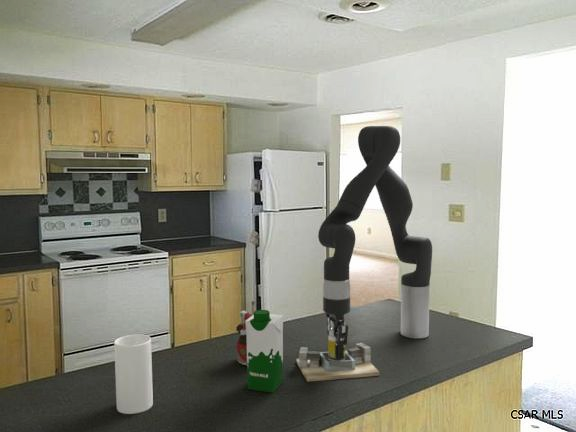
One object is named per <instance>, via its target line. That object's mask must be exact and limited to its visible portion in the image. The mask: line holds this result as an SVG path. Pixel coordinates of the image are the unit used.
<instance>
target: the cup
mask: <svg viewBox="0 0 576 432" xmlns="http://www.w3.org/2000/svg"><path fill="white" fill-rule="evenodd" d="M113 342H114V344H113V345H114V348H113V349H114V368H115V369H114V372H115V399H116V400H115V401H116V410H117V412H118V413H121V414H124V415H133V414H140V413H143V412H146V411H148V410H149V409H151V408H152V407H153V404H154V399H153V397H154V396H153V389H154V388H153V363H152V362H153V361H152V360H153V359H152V358H153V357H152V338H151V336H149V335H145V334H128V335H123V336H121V337H118V338H116V339H115V340H114V341H113Z"/></svg>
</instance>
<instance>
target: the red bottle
mask: <svg viewBox="0 0 576 432" xmlns="http://www.w3.org/2000/svg"><path fill="white" fill-rule="evenodd" d="M254 311H256V302H255V300H251V313H250V312H247V311H246V310H241V311H240V312H239V313H238V315H239V318H240V319H244V323H243V322H242V323H241V322H240V323H239V324H237V326H236V329H235V330H236V332H238V334H240V336H239V337H238V340H237V342H236V346H237V347H236V351H237V353H238V356H237V358H236V359H237V362H238V363H239V364H241V365H243V366H244V365H245V366H247V335H246V324H245V321H246V320H247V319H248V318H250V317H251V316H252V315H254Z"/></svg>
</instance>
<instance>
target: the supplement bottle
mask: <svg viewBox="0 0 576 432" xmlns="http://www.w3.org/2000/svg"><path fill="white" fill-rule="evenodd" d="M335 333H336V334H338V332H335ZM329 334H330V336H329ZM329 334H328V338H327V340H328V342H327V343H328V346H327V347H328V349H327V352H328V359H329V360H330V361H343V360H345V350H346V345H344V357H343V358H342V359H337V358H336V357H335V338H334V337H333V334H332V329H330V333H329ZM340 341H342V338H341V339H340Z"/></svg>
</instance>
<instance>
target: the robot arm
mask: <svg viewBox="0 0 576 432" xmlns="http://www.w3.org/2000/svg"><path fill="white" fill-rule="evenodd" d="M357 145H358V149H359V152H360V155H361V157H362V158H363V161H364V163H365V164H366V166H365V167H364V168H363V169H362V170H361V171H359V173H357V174H356V175H355V176H354V177H353V179H351V180H350V182H349V183H348V184H347V185H346V187H345V188H344V189H343V192H342V194H341V196H340V197H339V200H338V202H337V204H336V206H335V207H334V208H333V209H332V210H331V212H330V213H329V214H328V216H326V218H325V219H324V221H322V223H321V224H320V227H319V230H318V235H317V237H318V242H319V243H320V245H322V247H325V248H329V249H334V252H333V256H328V257H327V258H325V259H324V262H323V284H322V311H323V312H324V313H325V316H326V317H325V318H326V328H327V329H326V333H327V335H328V337H329V336H330V334H329V333H330V329H332V334H333V337H334V338H335V357H336V358H337V359H342V358H343V357H344V345H345V346H347V345H348V335H349V325H348V324H346V319H345V317H344V315H346V314H349V313H350V312H351V283H350V281H351V280H350V263H351V259H352V258H353V257H352V256H353V252H354V249H355V244H356V233H355V230H354V228H353V227H352V226H351V225H349V223H351V222H355V221H357V220H358V219H359V218H360V216H361V215H362V213H363V210H364V208H365V206H366V204H367V201H368V199H369V197H370V195H371V193H372V191H373V189H374V188H376V191H377V194H378V197H379V201H380V203H381V206H382V210H383V211H384V214H385V217H386V220H387V222H388V225H389V228H390V232H391V236H392V242H393V246H394V250H395V253H396V257H397V259H398V260H399V261H400V262H402V263H405V264H408V265H409V264H410V265H416V266H415V267H416V268H415V270H414V271H413V272H407V273H405V274H402V276H401V278H400V279H401V280H400V283H401V284H400V335H401V336H403V337H406V338H410V339H425V338H427V337H429V334H430V333H429V331H430V326H429V325H430V285H431V284H430V282H431V281H430V279H431V275H432V262H433V245H432V241H431V240H430V238H428V237H424V236H414V235H410V234H409V233H408V230H407V227H406V225H407V222H408V221H409V218H410V216H411V214H412V212H413V208H414V205H413V199H412V197H411V193H410V189H409V187H408V185H407V183H406V182H405V181H404V180H403V179H402V177H400V176H399V175H398V173H397V172H395V170H393V168H391V166H390V164H391V162H392V161H393V160H394V158H395V156H396V155H397V153H398V151H399V149H400V146H401V135H400V132H399V130H398V129H397V127H394V126H393V125H368V126H364V127H362V128H361V130H360V131H359V133H358V137H357ZM335 332H338V334H336V333H335ZM341 338H342V341H340V339H341Z"/></svg>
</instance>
